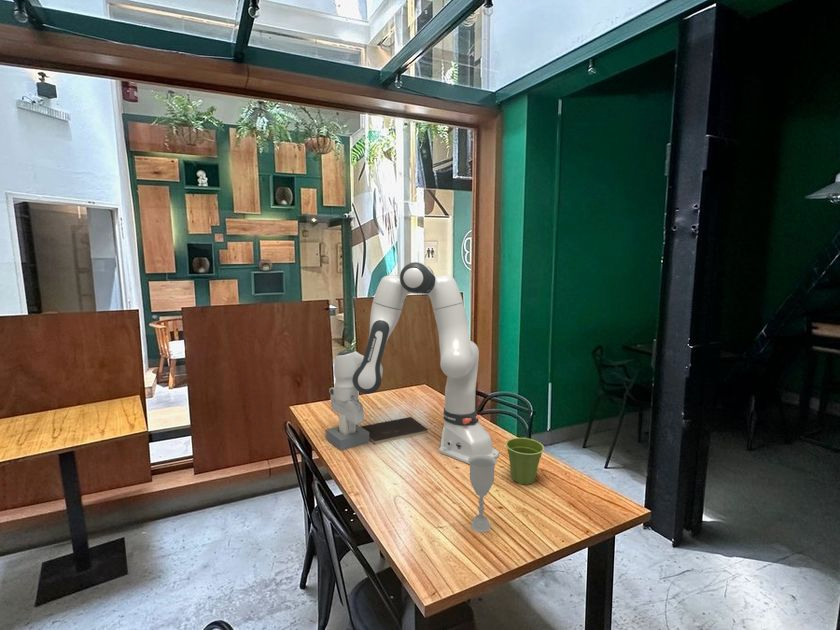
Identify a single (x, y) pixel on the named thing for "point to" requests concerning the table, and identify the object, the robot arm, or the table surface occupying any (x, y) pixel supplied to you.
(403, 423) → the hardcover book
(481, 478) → the chalice
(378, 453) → the table surface
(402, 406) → the table surface
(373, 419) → the table surface
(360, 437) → the holder
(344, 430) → the cream block
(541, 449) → the plant pot
